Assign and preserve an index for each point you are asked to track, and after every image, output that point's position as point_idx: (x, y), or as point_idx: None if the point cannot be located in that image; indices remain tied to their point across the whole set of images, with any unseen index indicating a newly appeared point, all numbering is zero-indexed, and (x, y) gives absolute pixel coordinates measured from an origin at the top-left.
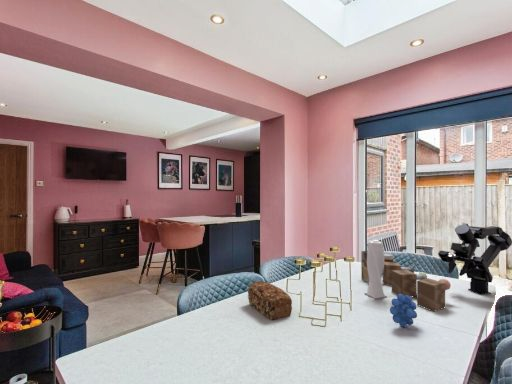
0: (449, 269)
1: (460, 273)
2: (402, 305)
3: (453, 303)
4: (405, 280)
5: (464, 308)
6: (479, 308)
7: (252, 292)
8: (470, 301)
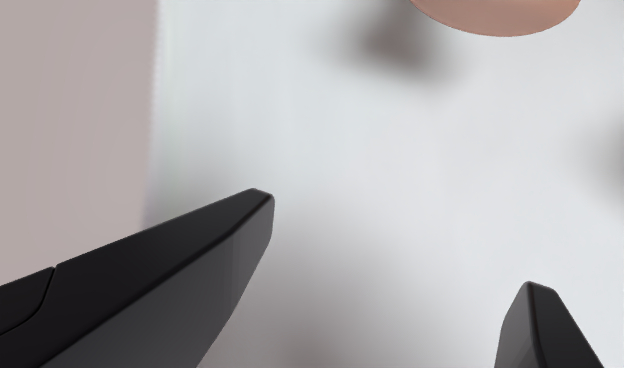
0: (562, 341)
1: (236, 196)
2: None
3: (379, 133)
4: None
5: (281, 68)
6: (179, 168)
7: None
8: (255, 333)
